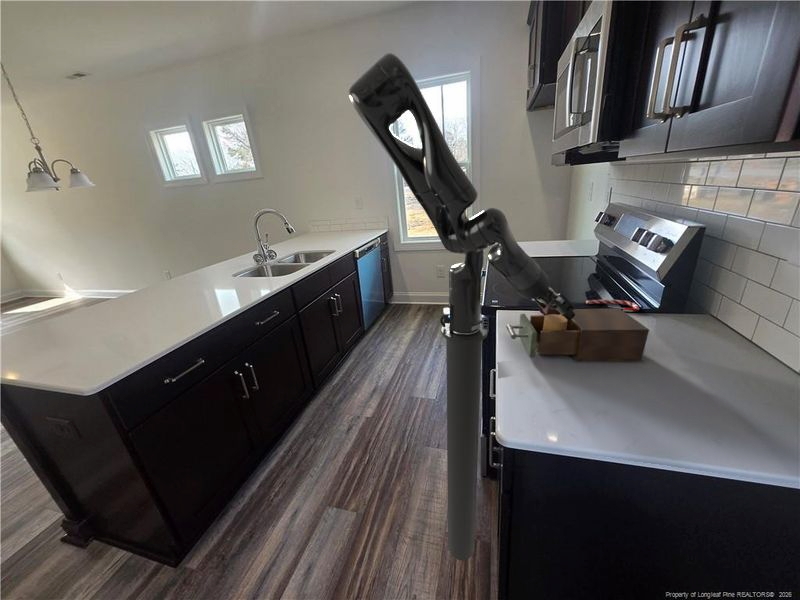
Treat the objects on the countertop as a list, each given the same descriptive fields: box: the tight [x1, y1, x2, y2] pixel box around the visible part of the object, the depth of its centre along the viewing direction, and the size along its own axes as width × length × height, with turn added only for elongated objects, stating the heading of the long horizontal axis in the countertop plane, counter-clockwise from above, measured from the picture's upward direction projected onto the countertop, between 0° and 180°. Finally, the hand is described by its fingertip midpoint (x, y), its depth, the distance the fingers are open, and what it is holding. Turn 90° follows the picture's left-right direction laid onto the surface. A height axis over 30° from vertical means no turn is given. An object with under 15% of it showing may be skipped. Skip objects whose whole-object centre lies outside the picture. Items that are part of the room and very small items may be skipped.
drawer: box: [505, 313, 580, 358], centre depth 83 cm, size 18×11×7 cm, turn 84°
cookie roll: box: [543, 314, 567, 331], centre depth 80 cm, size 5×5×8 cm
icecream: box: [538, 301, 562, 315], centre depth 101 cm, size 7×7×15 cm
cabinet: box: [571, 307, 650, 362], centre depth 81 cm, size 15×13×9 cm
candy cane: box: [585, 299, 640, 313], centre depth 106 cm, size 8×1×15 cm
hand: (558, 311), depth 81 cm, fingers open, 8 cm apart
